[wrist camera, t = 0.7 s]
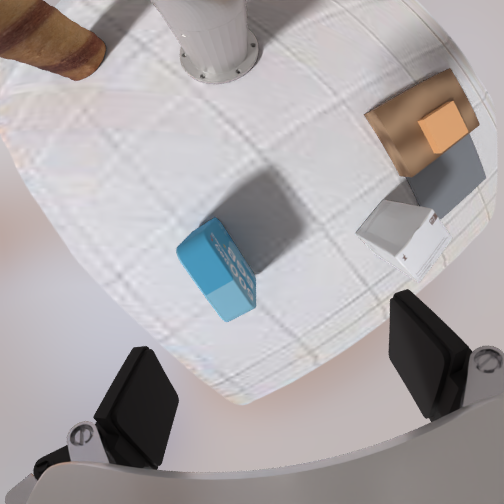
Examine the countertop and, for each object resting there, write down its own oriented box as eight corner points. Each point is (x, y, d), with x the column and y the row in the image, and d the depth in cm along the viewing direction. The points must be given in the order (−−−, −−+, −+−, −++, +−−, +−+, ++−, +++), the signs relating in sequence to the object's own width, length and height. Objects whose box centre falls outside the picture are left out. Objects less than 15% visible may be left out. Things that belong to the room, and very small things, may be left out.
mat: (405, 175, 40) (406, 175, 40) (466, 130, 36) (467, 129, 36) (428, 227, 42) (429, 228, 42) (484, 177, 39) (486, 177, 39)
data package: (256, 276, 45) (257, 311, 34) (233, 289, 46) (227, 327, 35) (216, 215, 42) (202, 231, 31) (193, 230, 43) (172, 251, 32)
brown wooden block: (363, 114, 37) (373, 110, 33) (438, 73, 33) (450, 68, 30) (400, 176, 40) (412, 177, 36) (467, 126, 36) (479, 124, 32)
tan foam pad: (434, 153, 35) (440, 153, 33) (417, 121, 33) (423, 119, 32) (461, 132, 33) (468, 131, 31) (446, 102, 32) (453, 100, 30)
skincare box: (374, 254, 44) (417, 288, 30) (352, 231, 43) (393, 260, 29) (403, 219, 42) (455, 240, 28) (383, 195, 41) (434, 208, 27)
